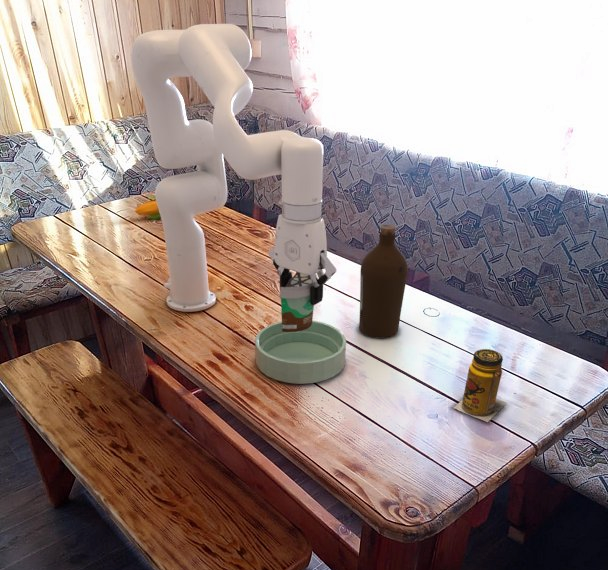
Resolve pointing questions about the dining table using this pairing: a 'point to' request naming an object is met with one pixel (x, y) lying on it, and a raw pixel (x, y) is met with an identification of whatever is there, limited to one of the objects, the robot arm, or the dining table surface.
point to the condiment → (482, 386)
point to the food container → (296, 303)
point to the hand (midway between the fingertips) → (300, 297)
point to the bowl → (300, 353)
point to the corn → (149, 209)
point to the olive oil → (382, 287)
